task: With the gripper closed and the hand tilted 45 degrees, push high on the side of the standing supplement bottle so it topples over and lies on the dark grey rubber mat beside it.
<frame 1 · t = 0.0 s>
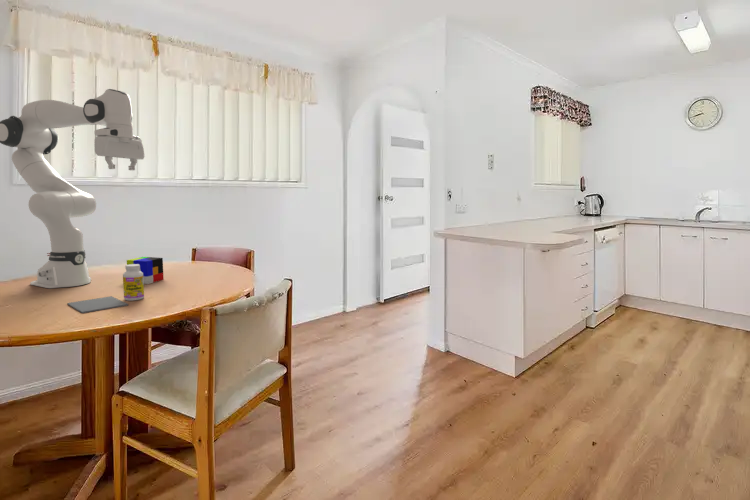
hand: (122, 169, 169), 48 cm above the table, tool pointing down, fingers open, 8 cm apart
puzzle toy: (146, 281, 193), on the table
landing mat: (97, 304, 153), on the table
supplement bottle: (134, 299, 162), on the table
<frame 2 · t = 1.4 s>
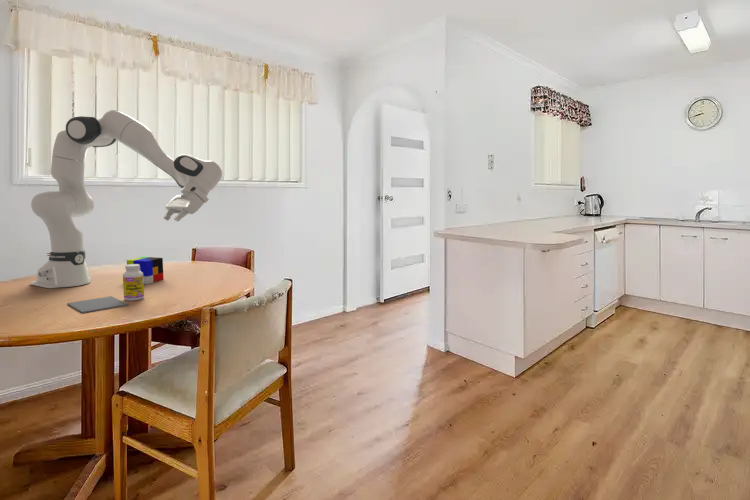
hand: (170, 219, 170), 29 cm above the table, tool tilted 45°, fingers open, 8 cm apart
nothing on the table moved.
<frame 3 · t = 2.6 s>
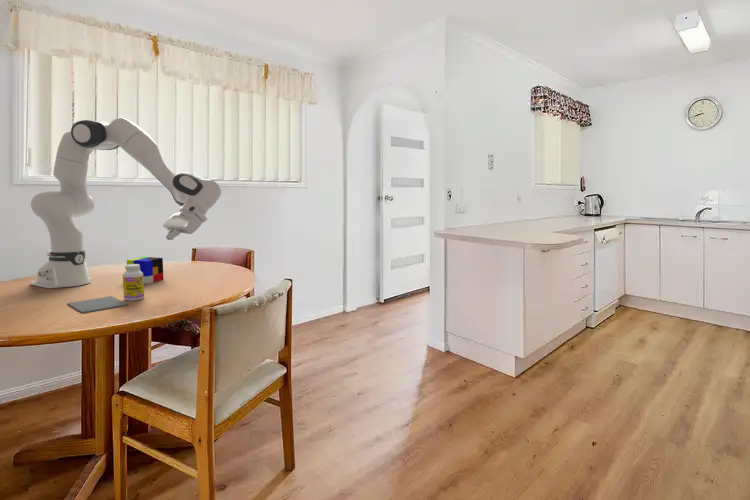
hand: (168, 239, 169), 22 cm above the table, tool tilted 45°, fingers closed
nothing on the table moved.
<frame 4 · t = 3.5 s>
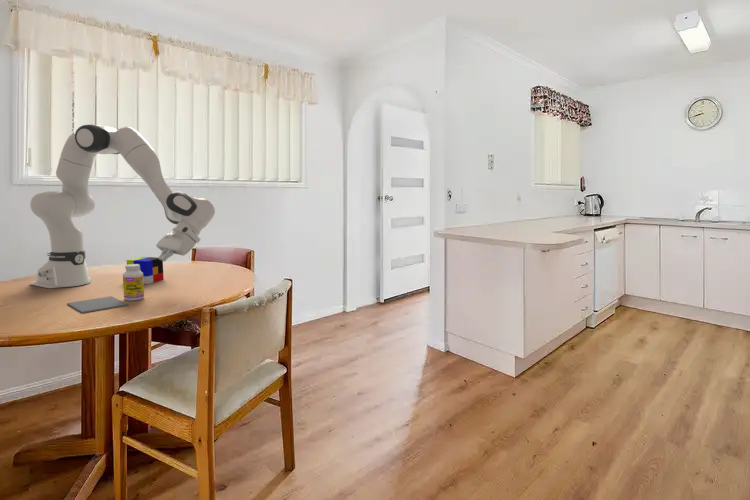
hand: (161, 260, 168), 14 cm above the table, tool tilted 45°, fingers closed
nothing on the table moved.
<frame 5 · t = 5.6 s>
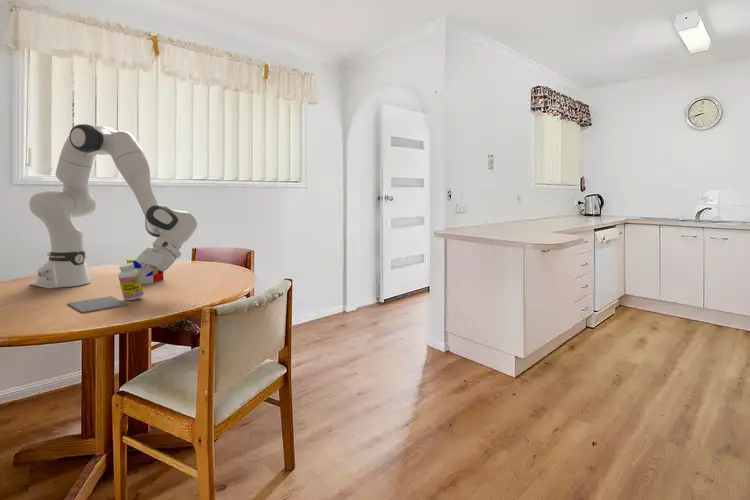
hand: (140, 275, 163), 8 cm above the table, tool tilted 45°, fingers closed
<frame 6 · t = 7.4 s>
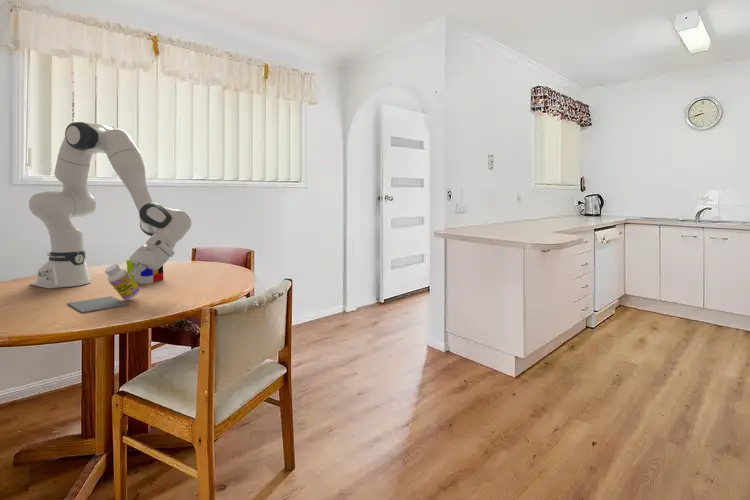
hand: (132, 274, 160), 9 cm above the table, tool tilted 45°, fingers closed
supplement bottle: (133, 295, 161), point 2 cm above the table
everything else where it was.
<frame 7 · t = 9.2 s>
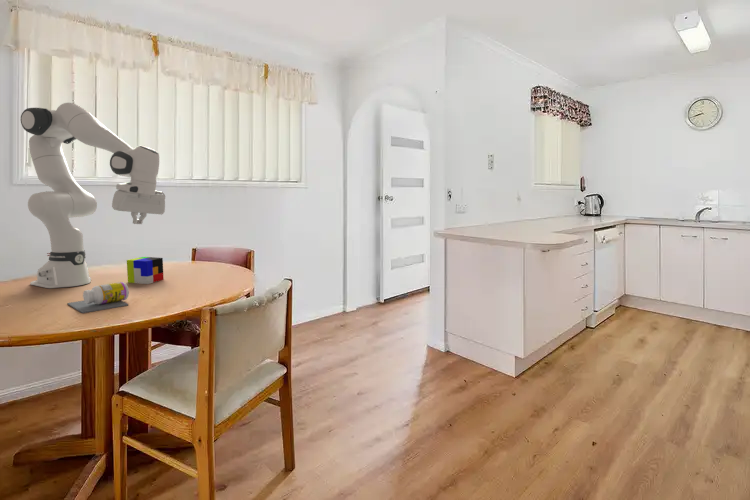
hand: (137, 223, 169), 27 cm above the table, tool pointing down, fingers closed
supplement bottle: (125, 290, 159), point 4 cm above the table, touching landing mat
everything else where it was.
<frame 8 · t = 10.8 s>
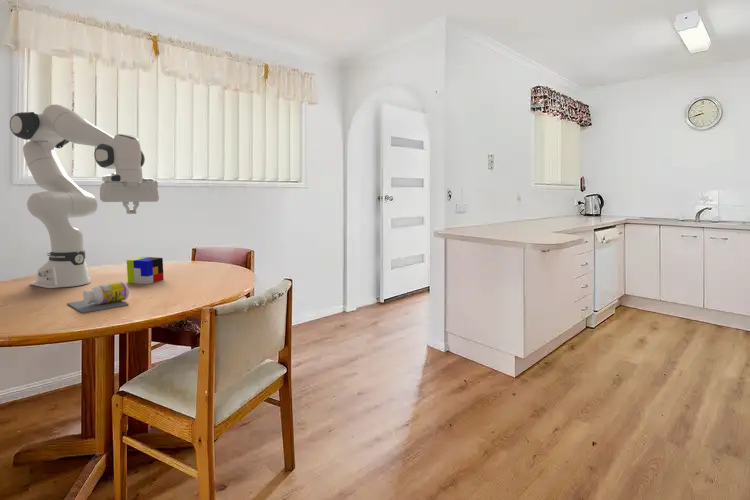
hand: (131, 213, 168), 31 cm above the table, tool pointing down, fingers closed
nothing on the table moved.
at the end: supplement bottle tilted 90°; supplement bottle touching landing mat; the gripper is holding nothing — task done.
